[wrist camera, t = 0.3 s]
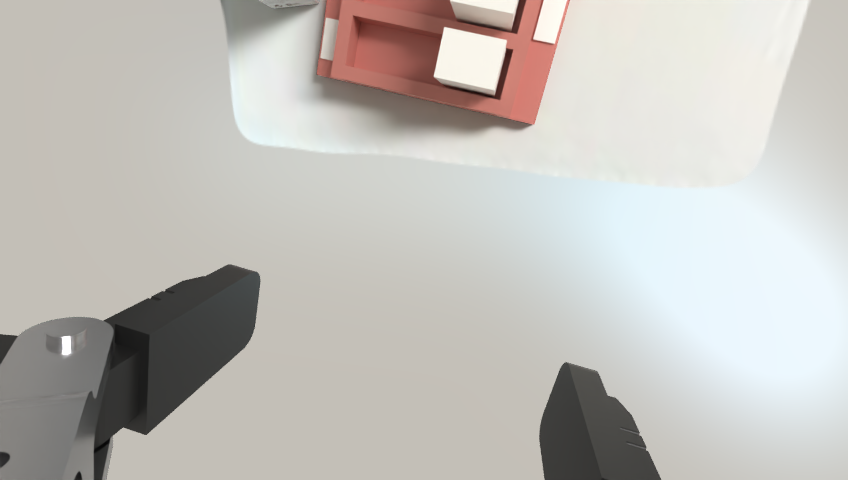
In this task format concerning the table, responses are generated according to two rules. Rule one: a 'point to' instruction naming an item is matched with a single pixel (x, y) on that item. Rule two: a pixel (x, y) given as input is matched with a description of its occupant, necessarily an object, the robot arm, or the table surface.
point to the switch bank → (419, 47)
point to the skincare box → (287, 3)
